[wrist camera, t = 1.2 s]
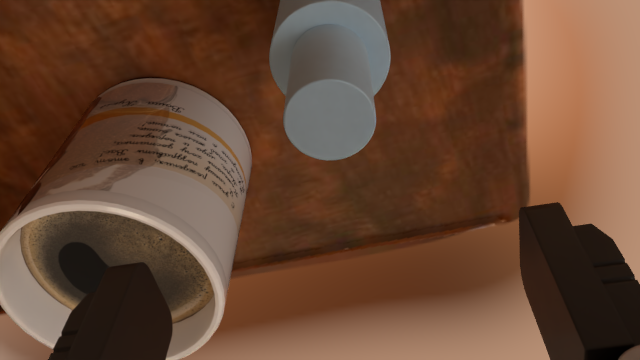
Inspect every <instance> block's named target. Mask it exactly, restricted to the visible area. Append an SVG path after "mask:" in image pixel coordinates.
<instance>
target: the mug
mask: <svg viewBox="0 0 640 360" xmlns="http://www.w3.org/2000/svg"><path fill="white" fill-rule="evenodd" d="M251 169H252V154H251V150H250V145H249V142H248V139H247V137H246V134H245V132H244V130H243V129H242V127H241V125H240V124H239V122H238V121H237V119H236V118H235V117H234V116H233V114H232V113H231V112H230V111H229V110H228V109H227V108H226V107H225V106H224V105H223V104H222V103H220V102H219V101H218V100H217V99H215V98H214V97H212V96H211V95H209V94H208V93H206V92H204V91H202V90H200V89H198V88H196V87H194V86H192V85H188V84H185V83H182V82H179V81H175V80H169V79H162V78H144V79H135V80H131V81H127V82H123V83H120V84H118V85H116V86H114V87H111V88H109V89H108V90H106V91H105V92H103V93H102V94H101V95H99V96H98V97H97V98H96V99H95V100H94V101H93V102H92V103H91V104H90V106H89V107H88V109H87V110H86V111H85V113H84V114H83V116H82V117H81V118H80V120H79V121H78V123H77V124H76V126H75V127H74V128H73V130H72V131H71V133H70V134H69V135H68V137H67V138H66V140H65V141H64V143H63V144H62V145H61V147H60V148H59V150H58V151H57V152H56V154H55V155H54V157H53V158H52V160H51V161H50V162H49V164H48V165H47V167H46V168H45V169H44V171H43V172H42V174H41V175H40V177H39V178H38V179H37V181H36V182H35V184H34V185H33V186H32V188H31V189H30V191H29V192H28V194H27V195H26V196H25V198H24V199H23V201H22V202H21V203H20V205H19V206H18V208H17V209H16V211H15V212H14V213H13V215H12V216H11V218H10V219H9V220H8V222H7V223H6V225H5V226H4V228H3V229H2V230H1V232H0V305H1V306H2V308H3V309H4V311H5V312H6V313H7V314H8V315H9V316H10V318H11V319H12V320H13V321H14V322H15V323H16V324H17V325H18V326H19V327H21V328H22V329H23V330H24V331H25V332H26V333H28V334H29V335H30V336H32V337H33V338H35V339H36V340H37V341H39V342H41V343H43V344H44V345H46V346H48V347H50V348H51V349H53V348H54V346H55V344H56V342H57V340H58V338H59V337H60V336H62V334H61V332H62V330H63V328H64V325H65V323H66V321H67V319H68V317H69V315H70V313H71V312H72V310H73V309H74V308H75V307H76V306H77V305H78V304H79V303H80V302H81V301H82V299H83V298H84V297H85V296H86V295H87V294H88V293H93V292H96V290H97V288H98V286H99V284H100V281H101V279H102V277H103V275H104V273H105V271H106V269H107V268H109V267H111V266H118V265H124V264H131V263H138V262H144V263H145V264H147V266H148V267H149V269H150V271H151V273H152V275H153V277H154V279H155V281H156V283H157V285H158V287H159V289H160V291H161V293H162V295H163V297H164V299H165V301H166V303H167V305H168V307H169V309H170V312H171V316H172V323H173V332H172V338H171V342H170V345H169V349H168V352H167V356H166V359H165V360H179V359H181V358H183V357H186V356H188V355H190V354H191V353H193V352H195V351H196V350H198V349H199V348H200V347H202V346H203V345H204V344H205V343H206V342H207V341H208V340H209V339H210V338H211V337H212V335H213V334H214V332H215V331H216V330H217V328H218V327H219V324H220V322H221V319H222V317H223V313H224V308H225V303H226V298H227V293H228V288H229V283H230V278H231V272H232V267H233V262H234V257H235V252H236V247H237V242H238V237H239V232H240V227H241V221H242V216H243V211H244V206H245V201H246V196H247V191H248V186H249V181H250V175H251Z"/></svg>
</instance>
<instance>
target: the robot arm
mask: <svg viewBox="0 0 640 360" xmlns="http://www.w3.org/2000/svg"><path fill="white" fill-rule="evenodd" d="M519 235H520V267H521V275H522V280H523V285H524V289H525V292H526V295H527V298H528V300H529V303H530V306H531V308H532V311H533V313H534V316H535V319H536V322H537V325H538V327H539V330H540V332H541V335H542V338H543V341H544V343H545V346H546V349H547V351H548V354H549V357H550V360H640V284H639V283H638V281H637V280H635V278H634V274H633V273H632V271H631V269H630V267H629V266H628V264H627V263H625V259H624V257H623V256H622V254H621V252H620V251H619V249H618V247H617V246H616V244H615V242H614V241H613V239H611V238H610V237H609V236H607V235H606V234H604V233H603V232H602V231H601V230H599V229H598V228H597V227H595V226H594V225H592V224H586V225H579V226H572V224H571V222H570V220H569V219H568V217H567V215H566V213H565V211H564V209H563V207H562V206H561V205H560V203H558V202H557V203H550V204H544V205H537V206H529V207H522V208H520V211H519ZM172 332H173V323H172V316H171V312H170V309H169V307H168V305H167V303H166V301H165V299H164V297H163V295H162V293H161V291H160V289H159V287H158V285H157V283H156V281H155V279H154V277H153V275H152V273H151V271H150V269H149V267H148V266H147V264H145V263H144V262H138V263H131V264H124V265H118V266H111V267H109V268H107V269H106V271H105V273H104V275H103V277H102V279H101V281H100V284H99V286H98V288H97V290H96V292H93V293H88V294H87V295H86V296H85V297H84V298H83V299H82V301H81V302H80V303H79V304H78V305H77V306H76V307H75V308H74V309H73V310H72V312H71V313H70V315H69V317H68V319H67V321H66V323H65V325H64V328H63V330H62V332H61V334H62V336H60V337H59V338H58V340H57V342H56V344H55V346H54V348H53V350H54V352H53V353H51V355H50V357H49V359H48V360H165V359H166V356H167V352H168V349H169V345H170V342H171V338H172Z"/></svg>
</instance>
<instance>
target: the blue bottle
mask: <svg viewBox="0 0 640 360" xmlns="http://www.w3.org/2000/svg"><path fill="white" fill-rule="evenodd" d="M390 58H391V56H390V47H389V42H388V37H387V32H386V27H385V23H384V18H383V13H382V8H381V3H380V0H280V4H279V9H278V13H277V18H276V23H275V28H274V32H273V37H272V42H271V46H270V54H269V60H270V68H271V72H272V75H273V78H274V80H275V82H276V84H277V85H278V87H279V88H280V90H281V91H282V92H283V93H284V95H285V96H286V100H285V108H284V115H283V124H284V129H285V132H286V134H287V136H288V138H289V140H290V141H291V143H292V144H293V145H294V146H295V147H296V148H297V149H298V150H300V151H301V152H302V153H304V154H306V155H308V156H310V157H313V158H316V159H320V160H339V159H344V158H346V157H349V156H351V155H354V154H355V153H357V152H358V151H360V150H361V149H362V148H363V147H364V146H365V145H366V144H367V143H368V142H369V140H370V139H371V137H372V135H373V133H374V130H375V126H376V112H375V104H374V95H375V94H376V93H377V92H378V91H379V89H380V88H381V86H382V85H383V83H384V81H385V79H386V77H387V74H388V71H389V67H390Z"/></svg>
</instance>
